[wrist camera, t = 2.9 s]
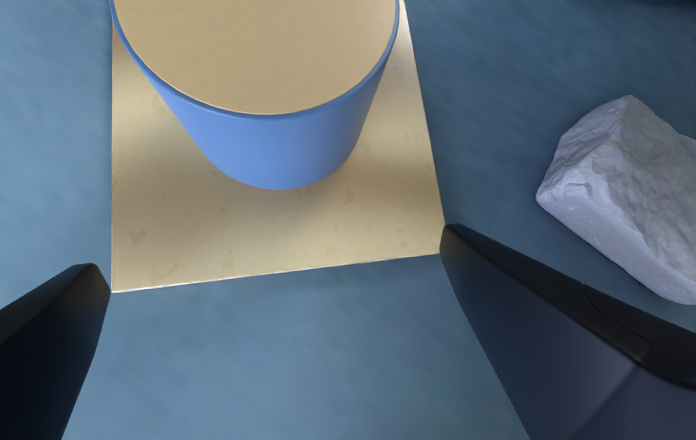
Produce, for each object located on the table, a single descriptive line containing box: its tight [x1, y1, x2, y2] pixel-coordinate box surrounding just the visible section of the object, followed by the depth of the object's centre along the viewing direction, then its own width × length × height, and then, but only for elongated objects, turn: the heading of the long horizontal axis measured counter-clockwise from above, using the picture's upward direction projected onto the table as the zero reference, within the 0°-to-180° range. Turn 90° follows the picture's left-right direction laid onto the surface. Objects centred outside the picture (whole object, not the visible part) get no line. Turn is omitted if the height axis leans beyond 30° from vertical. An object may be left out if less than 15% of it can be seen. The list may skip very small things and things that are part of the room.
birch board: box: [112, 0, 445, 293], centre depth 21 cm, size 27×18×1 cm, turn 7°
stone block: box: [535, 94, 696, 305], centre depth 21 cm, size 12×5×10 cm
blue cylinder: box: [109, 0, 400, 190], centre depth 15 cm, size 10×10×8 cm
